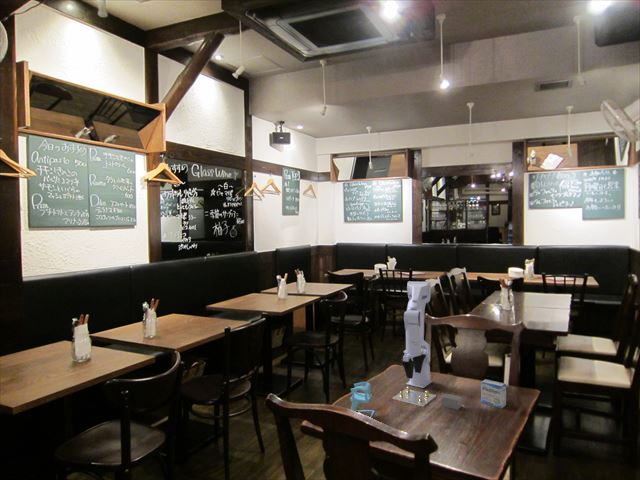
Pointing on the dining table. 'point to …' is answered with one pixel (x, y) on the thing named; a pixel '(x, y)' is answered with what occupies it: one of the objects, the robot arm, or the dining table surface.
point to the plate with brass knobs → (414, 397)
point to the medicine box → (493, 393)
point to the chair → (361, 396)
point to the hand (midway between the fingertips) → (413, 375)
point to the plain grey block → (451, 401)
